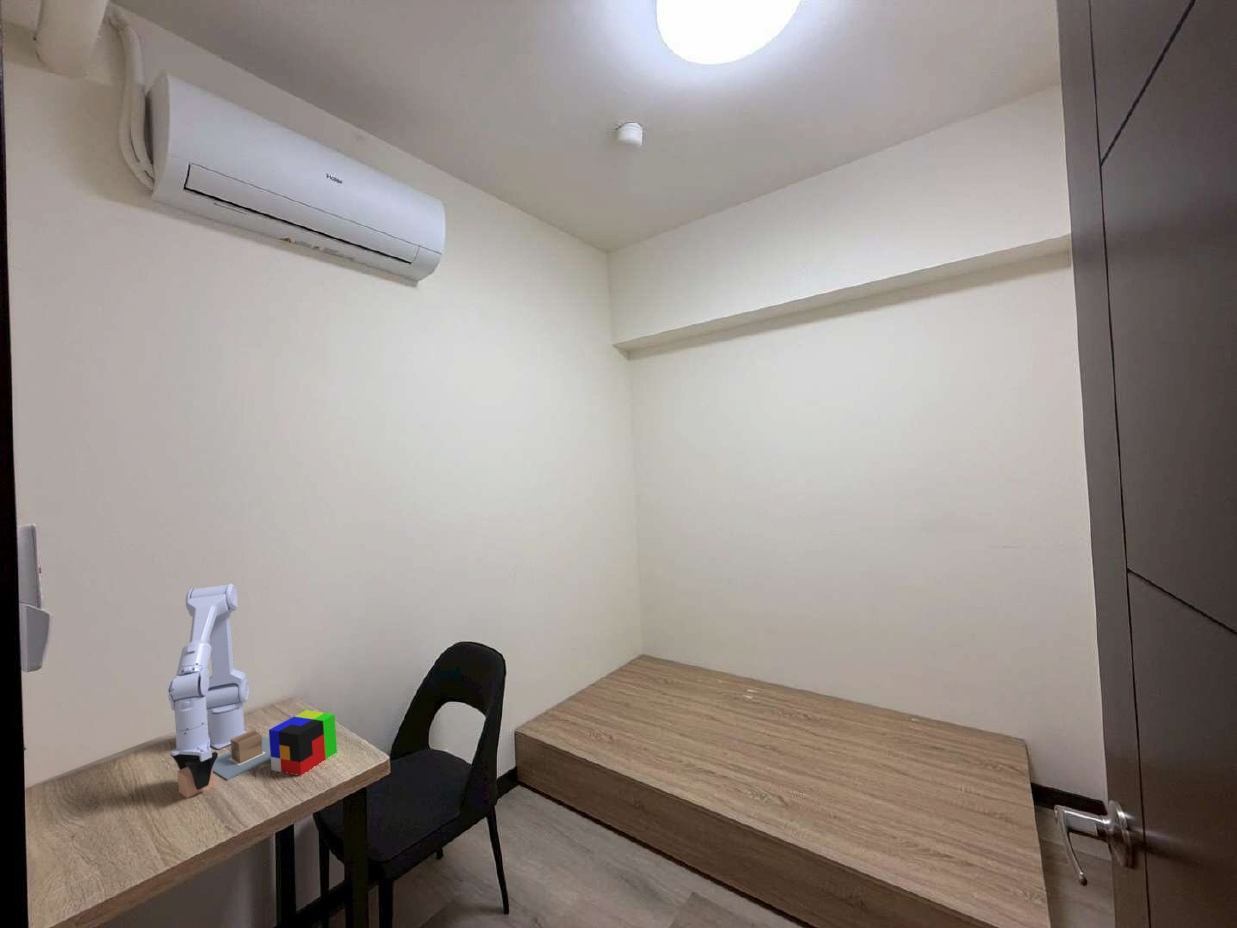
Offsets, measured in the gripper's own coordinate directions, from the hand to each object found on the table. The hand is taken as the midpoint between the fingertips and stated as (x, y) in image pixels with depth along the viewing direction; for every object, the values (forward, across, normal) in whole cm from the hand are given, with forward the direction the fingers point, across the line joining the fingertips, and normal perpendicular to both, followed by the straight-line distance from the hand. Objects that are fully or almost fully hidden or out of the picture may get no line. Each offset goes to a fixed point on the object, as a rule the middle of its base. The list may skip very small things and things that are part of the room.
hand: (196, 782), depth 121 cm
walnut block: (+1, -4, +12) cm, 13 cm away
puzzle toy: (+2, +12, +18) cm, 22 cm away
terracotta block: (+2, 0, 0) cm, 2 cm away
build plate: (+1, -4, +12) cm, 13 cm away
